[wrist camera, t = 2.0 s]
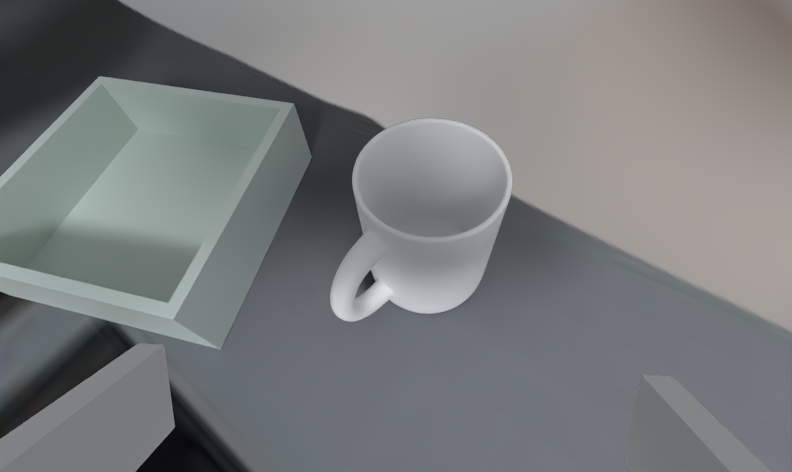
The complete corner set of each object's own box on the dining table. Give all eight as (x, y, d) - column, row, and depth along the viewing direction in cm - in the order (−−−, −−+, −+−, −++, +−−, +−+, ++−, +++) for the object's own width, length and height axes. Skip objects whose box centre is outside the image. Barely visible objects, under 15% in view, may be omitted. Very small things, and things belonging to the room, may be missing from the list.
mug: (390, 384, 25) (376, 335, 16) (309, 298, 28) (260, 218, 19) (505, 262, 29) (546, 169, 20) (423, 200, 32) (426, 97, 23)
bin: (9, 294, 29) (-79, 256, 24) (142, 129, 38) (99, 76, 33) (220, 349, 26) (173, 319, 21) (311, 157, 35) (294, 103, 30)
